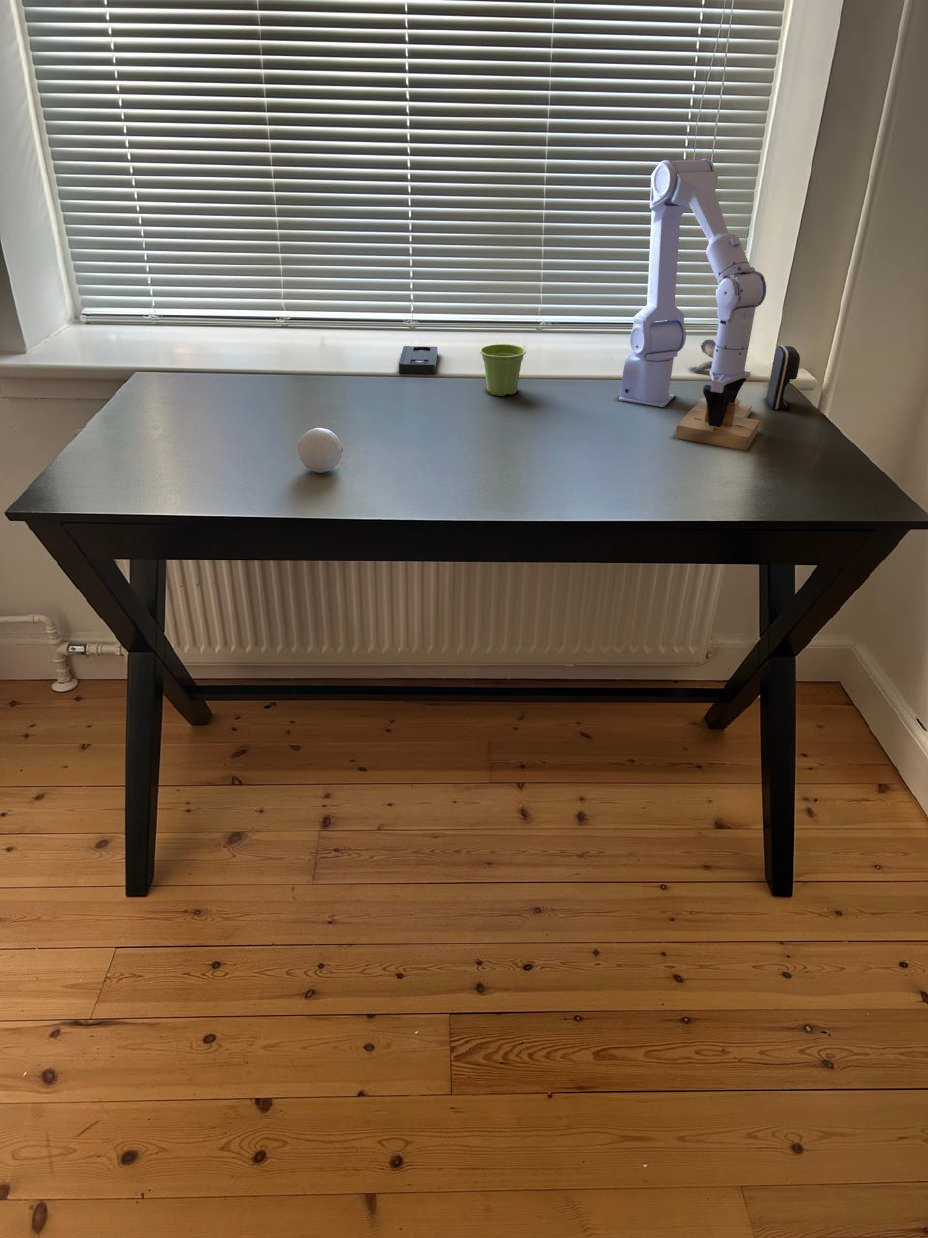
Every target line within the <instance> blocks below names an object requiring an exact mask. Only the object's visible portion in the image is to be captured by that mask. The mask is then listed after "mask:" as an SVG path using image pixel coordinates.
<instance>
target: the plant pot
mask: <svg viewBox="0 0 928 1238" xmlns="http://www.w3.org/2000/svg"><path fill="white" fill-rule="evenodd" d="M526 352H527V350H526V348H524V347H522V346H520V345H515V344H508V343H497V344H496V343H495V344H489V345H485V346H483V347H481V348H480V349H479V353H480V355H481V358H482V360H483V364H484V373H485V380H486V381H485V382H486V391H487V392H489V394H490V395H492V396H499V397H501V396H502V397H503V396H506V395H509V396H511V395H513V394H517V391H518V385H519V378H520V372H521V368H522V367H521V366H522V361H523V360H524V355H525V354H526Z"/></svg>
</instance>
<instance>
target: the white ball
mask: <svg viewBox="0 0 928 1238" xmlns="http://www.w3.org/2000/svg"><path fill="white" fill-rule="evenodd" d="M343 449H344V448H343V446H342V442H341V440H340V439H339V437H338V436H337V435H336V434H335V433H334V432H333V431H331V430H329V429H327V428H323V427H315V428H314V427H313V428H312V429H309V430H308V431H306V432H305V433H304V434H303V435H302V436H301V437H300V439H299V441H298V445H297V455H298V457H299V458H298V459H299V460H300V461H301V463H302V465H303V466H304V467H305V468H306V469H307V470H309V471H311V472H314V473H321V474H322V473H327V472H330V471H332V470H333V469H334V468H336V467H337V466H338V464H339V463H340V461H341V459H342V455H343V451H344V450H343Z"/></svg>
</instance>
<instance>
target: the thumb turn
mask: <svg viewBox="0 0 928 1238" xmlns="http://www.w3.org/2000/svg"><path fill="white" fill-rule="evenodd" d="M735 410H736V403H731V402H730V403H729V405H728V408H727V411H726V414H725V417H724V420H723V422H722V424H724V425H730V426H732V424H733V422H734V416H735ZM705 421H706V422H708V409H706V415H705Z"/></svg>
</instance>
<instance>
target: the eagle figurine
mask: <svg viewBox="0 0 928 1238" xmlns="http://www.w3.org/2000/svg"><path fill="white" fill-rule="evenodd" d="M715 343H716V341H714V339H710V338H709V339H705V340H704V341H702V343H701V344H700V349H701V350H702V353H704V354H705V355H706V356H708V357H709V358H711V359H713V355H714V349H715ZM712 361H713V360H710V361H709V360H708V361H704V362H702V363H700V364H699V365H697V366H695V367H692V368H691V371H693V372H700V371H704V370H710V368H711V367H712Z"/></svg>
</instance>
